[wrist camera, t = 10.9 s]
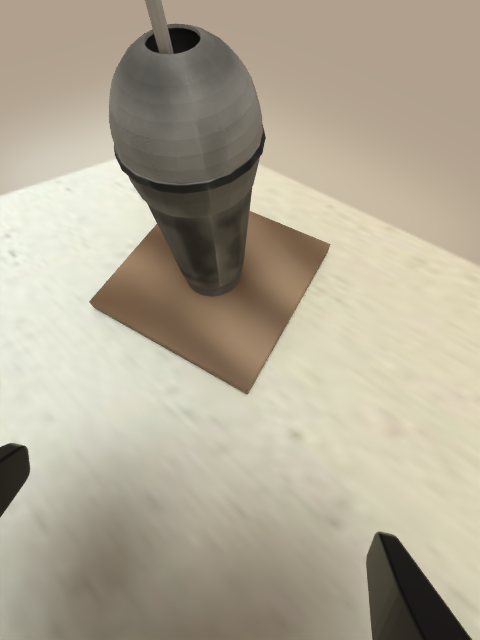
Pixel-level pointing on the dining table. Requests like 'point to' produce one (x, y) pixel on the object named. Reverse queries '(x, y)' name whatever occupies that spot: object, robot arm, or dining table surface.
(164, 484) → the dining table surface
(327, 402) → the dining table surface
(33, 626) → the dining table surface
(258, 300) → the walnut board
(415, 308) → the dining table surface
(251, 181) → the beverage cup
